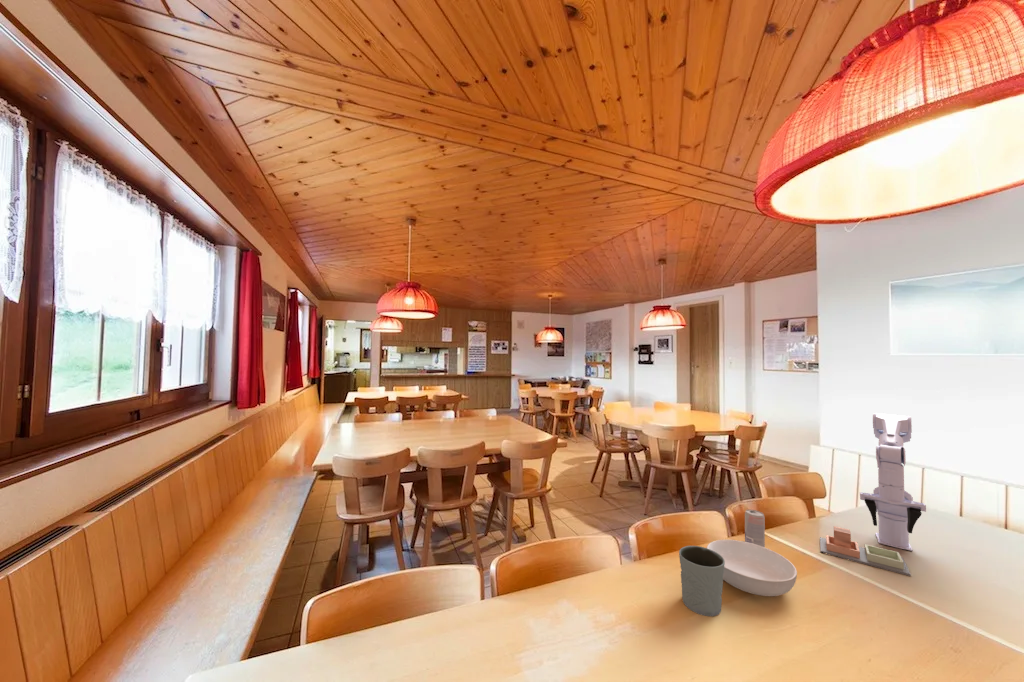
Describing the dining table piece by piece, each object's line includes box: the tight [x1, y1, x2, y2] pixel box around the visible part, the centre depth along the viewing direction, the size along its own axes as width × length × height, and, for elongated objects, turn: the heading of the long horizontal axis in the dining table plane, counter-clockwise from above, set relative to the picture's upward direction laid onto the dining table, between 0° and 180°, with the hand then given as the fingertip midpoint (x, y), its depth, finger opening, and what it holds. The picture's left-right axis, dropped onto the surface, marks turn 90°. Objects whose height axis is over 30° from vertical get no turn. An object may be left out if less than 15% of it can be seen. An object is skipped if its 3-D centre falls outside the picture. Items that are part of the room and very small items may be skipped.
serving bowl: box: [706, 539, 798, 597], centre depth 103 cm, size 21×21×7 cm
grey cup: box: [678, 545, 725, 617], centre depth 93 cm, size 10×10×12 cm
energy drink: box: [744, 509, 766, 548], centre depth 121 cm, size 5×5×12 cm
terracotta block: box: [833, 526, 852, 549], centre depth 122 cm, size 4×4×6 cm
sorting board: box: [819, 534, 912, 577], centre depth 119 cm, size 12×20×3 cm, turn 52°
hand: (892, 528), depth 118 cm, fingers open, 7 cm apart
